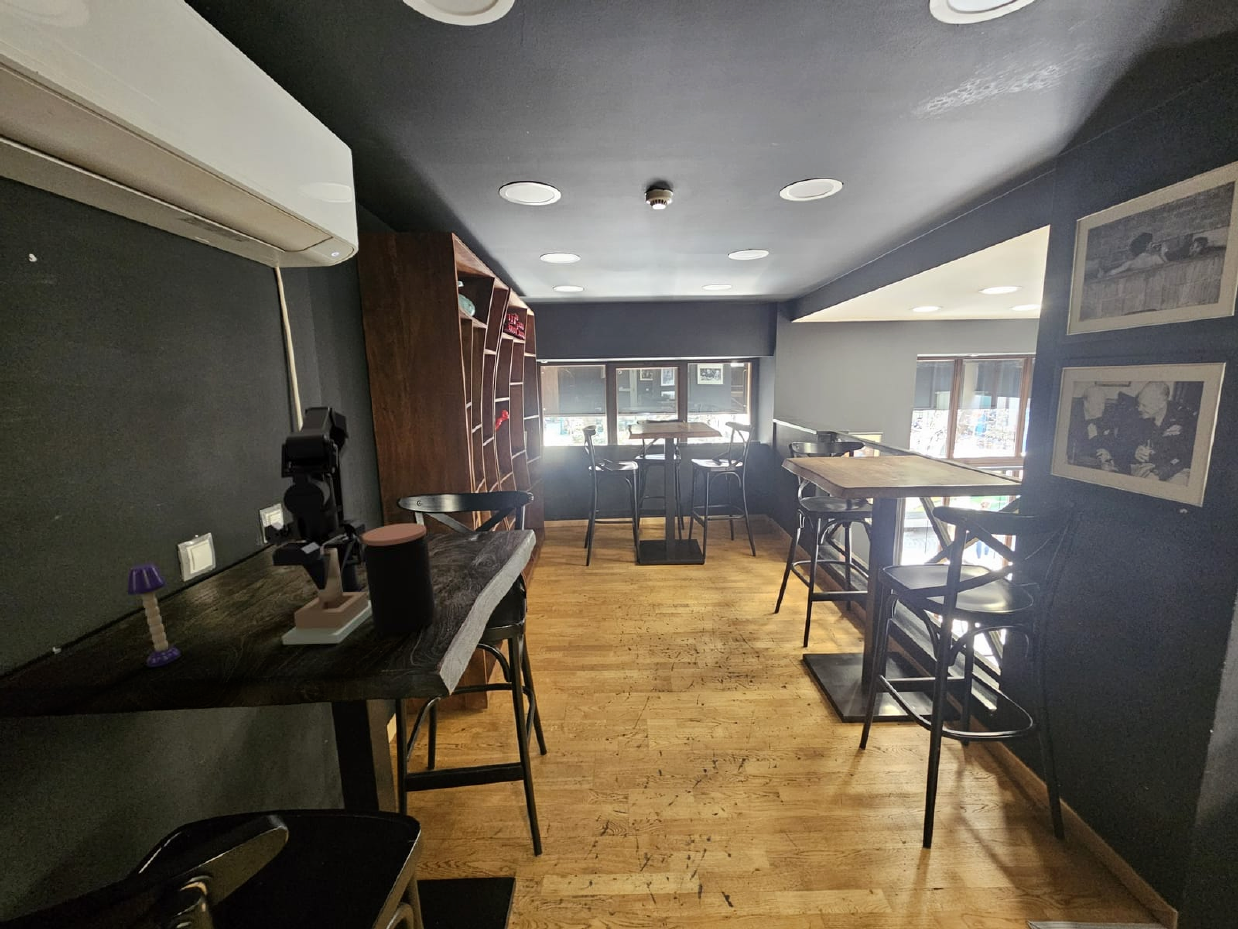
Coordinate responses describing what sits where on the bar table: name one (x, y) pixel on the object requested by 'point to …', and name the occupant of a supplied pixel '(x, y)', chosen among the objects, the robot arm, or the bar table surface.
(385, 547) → the coffee jar
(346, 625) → the socket board
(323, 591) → the birch peg
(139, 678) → the bar table surface
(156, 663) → the toy lamp
